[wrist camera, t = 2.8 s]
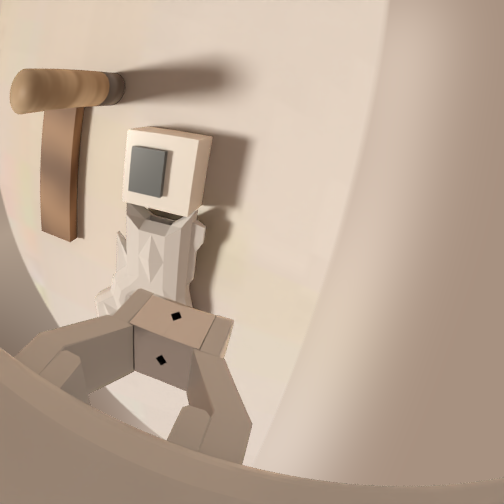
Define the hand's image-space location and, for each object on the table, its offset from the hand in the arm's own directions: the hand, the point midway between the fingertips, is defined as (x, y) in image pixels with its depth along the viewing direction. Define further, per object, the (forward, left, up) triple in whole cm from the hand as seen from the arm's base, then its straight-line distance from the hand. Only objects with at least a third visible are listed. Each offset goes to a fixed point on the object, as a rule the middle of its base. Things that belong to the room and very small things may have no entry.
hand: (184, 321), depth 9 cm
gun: (+11, -7, -14) cm, 19 cm away
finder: (-1, -7, -14) cm, 15 cm away
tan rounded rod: (-6, -13, -14) cm, 20 cm away
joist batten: (+1, -18, -14) cm, 22 cm away
